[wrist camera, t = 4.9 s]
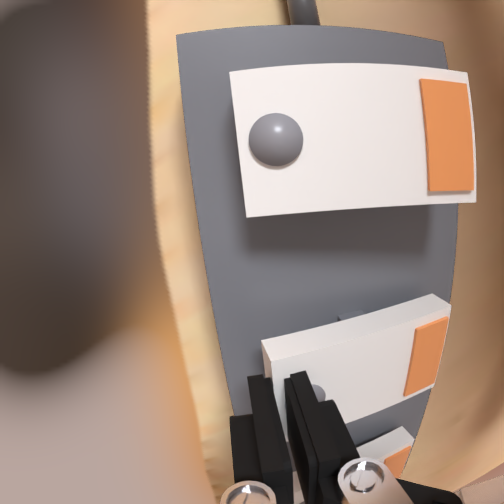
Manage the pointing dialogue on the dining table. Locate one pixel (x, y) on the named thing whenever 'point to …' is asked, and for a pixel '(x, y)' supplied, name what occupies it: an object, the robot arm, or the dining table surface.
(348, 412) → the rocker mid
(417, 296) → the power strip
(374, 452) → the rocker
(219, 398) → the dining table surface
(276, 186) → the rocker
